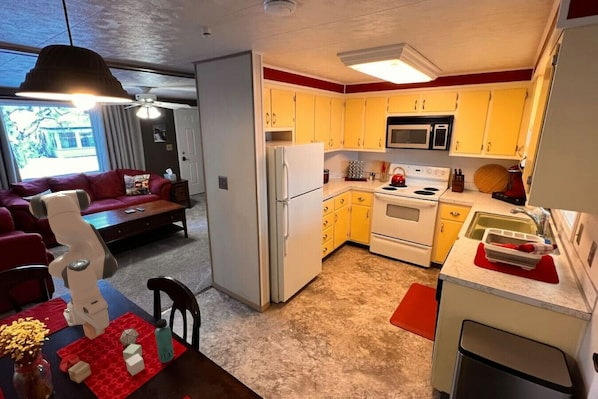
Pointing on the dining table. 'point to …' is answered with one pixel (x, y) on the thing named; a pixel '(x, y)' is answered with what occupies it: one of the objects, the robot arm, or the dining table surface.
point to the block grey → (135, 364)
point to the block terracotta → (90, 331)
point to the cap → (66, 360)
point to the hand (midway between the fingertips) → (94, 330)
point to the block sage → (132, 351)
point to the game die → (129, 337)
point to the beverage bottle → (164, 341)
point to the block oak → (79, 371)
